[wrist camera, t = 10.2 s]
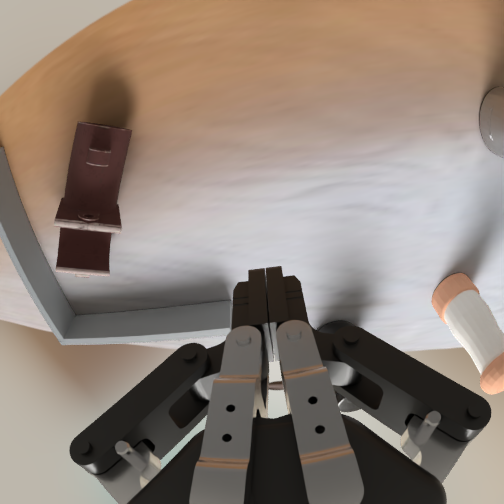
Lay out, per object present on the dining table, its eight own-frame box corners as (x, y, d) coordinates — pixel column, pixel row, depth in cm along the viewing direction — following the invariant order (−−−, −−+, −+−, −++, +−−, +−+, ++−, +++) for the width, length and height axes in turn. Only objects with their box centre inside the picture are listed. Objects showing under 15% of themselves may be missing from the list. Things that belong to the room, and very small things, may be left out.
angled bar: (181, 80, 26) (170, 81, 22) (232, 307, 41) (231, 334, 36) (-3, 149, 28) (-28, 162, 23) (73, 321, 42) (61, 344, 38)
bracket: (59, 263, 33) (52, 309, 25) (78, 120, 28) (70, 122, 20) (105, 267, 37) (111, 313, 29) (130, 128, 31) (141, 133, 23)
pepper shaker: (426, 313, 43) (479, 413, 27) (437, 276, 39) (505, 378, 23) (461, 306, 43) (517, 395, 27) (474, 269, 39) (542, 359, 23)
